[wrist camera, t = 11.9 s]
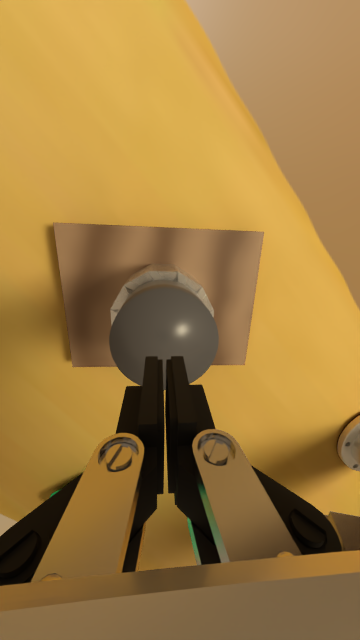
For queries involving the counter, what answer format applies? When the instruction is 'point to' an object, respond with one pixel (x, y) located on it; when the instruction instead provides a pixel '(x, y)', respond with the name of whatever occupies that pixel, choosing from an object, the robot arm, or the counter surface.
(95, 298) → the pipe flange plate
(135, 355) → the grey sphere
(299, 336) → the counter surface
